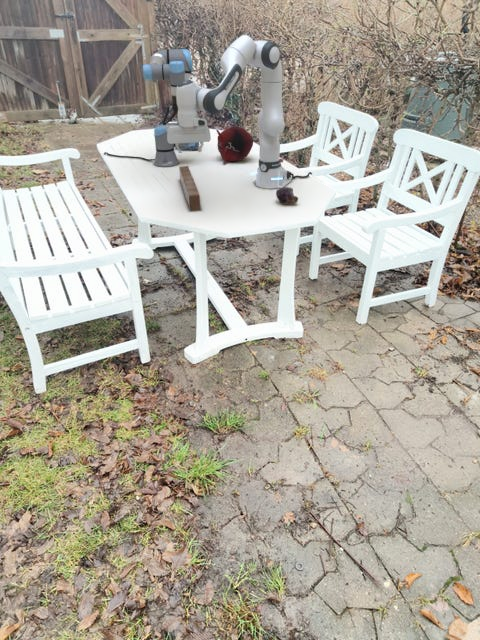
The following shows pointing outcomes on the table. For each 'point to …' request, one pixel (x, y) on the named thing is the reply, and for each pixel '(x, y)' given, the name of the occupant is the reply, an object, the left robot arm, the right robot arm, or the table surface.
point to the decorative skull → (234, 144)
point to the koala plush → (190, 147)
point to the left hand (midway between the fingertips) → (182, 137)
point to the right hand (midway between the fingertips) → (189, 152)
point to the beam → (189, 188)
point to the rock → (286, 195)
